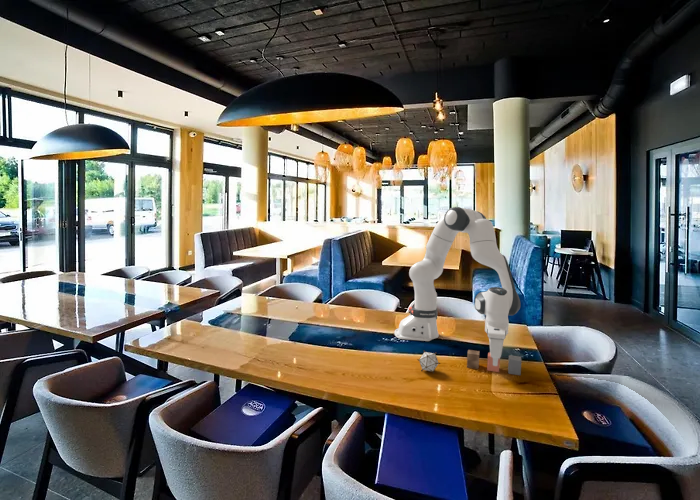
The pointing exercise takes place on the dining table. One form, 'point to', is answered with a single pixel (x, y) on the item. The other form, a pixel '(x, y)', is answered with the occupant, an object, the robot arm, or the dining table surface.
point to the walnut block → (473, 359)
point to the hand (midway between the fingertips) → (495, 360)
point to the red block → (490, 364)
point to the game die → (428, 361)
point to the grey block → (514, 365)
